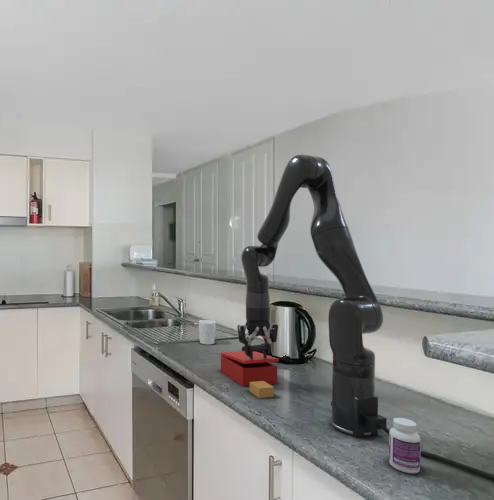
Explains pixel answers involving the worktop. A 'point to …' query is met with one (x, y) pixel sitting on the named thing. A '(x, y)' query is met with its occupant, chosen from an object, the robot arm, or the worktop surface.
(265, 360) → the box lid
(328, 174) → the robot arm
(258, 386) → the block
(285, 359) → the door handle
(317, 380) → the worktop surface
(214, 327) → the white cup
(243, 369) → the red open box
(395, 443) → the pill bottle
